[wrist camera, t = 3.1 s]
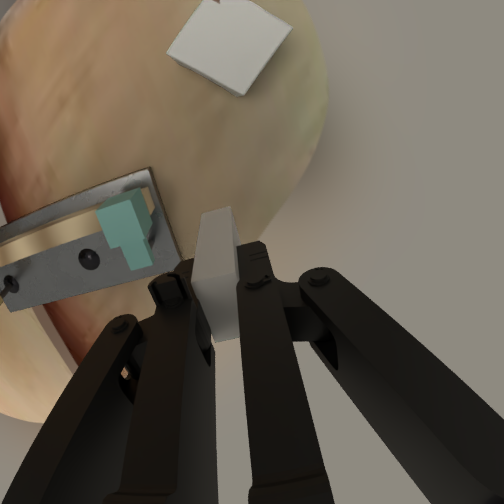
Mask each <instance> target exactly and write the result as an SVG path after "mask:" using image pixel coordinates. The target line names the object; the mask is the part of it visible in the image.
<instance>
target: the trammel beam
mask: <svg viewBox="0 0 504 504" xmlns="http://www.w3.org/2000/svg"><path fill="white" fill-rule="evenodd" d="M141 192H142V195H143V198H144V200H145V203H146V206H147V209H148V212H149V214H150V215H151V214H152V212H153V210H154V208H155V206H154V203H153V200H152V197H151V194H150V191H149V188H148V187H145V188H142V189H141ZM104 202H105V201H104ZM104 202H101V203H98V204H95V205H93V206H90V207H87V208H85V209H82V210H79V211H77V212H74V213H71V214H69V215H66V216H64V217H61V218H58V219H56V220H53V221H51V222H48V223H46V224H44V225H41V226H39V227H36V228H34V229H31V230H29V231H27V232H24V233H22V234H20V235H17V236H15V237H13V238H11V239H8V240H6V241H4V242H2V243H0V267H2V266H5V265H7V264H10V263H12V262H15V261H18V260H20V259H23V258H25V257H28V256H31V255H33V254H36V253H39V252H42V251H44V250H47V249H50V248H53V247H55V246H58V245H61V244H64V243H67V242H70V241H72V240H75V239H78V238H81V237H84V236H87V235H90V234H93V233H96V232H99V231H102V228H101V225H100V223H99V220H98V218H97V215H96V213H95V211H96V210H97V209H98V208H99V207H100V206H101V205H102V204H103V203H104ZM11 289H12V285H11V284H10V283H8V284H7V286H6V287H5V288H4V289H3V290H2V292H1V293H0V305H1V304H2V303H3V299H4V297H5V296H6V295H7V294H8V292H9V291H10V290H11Z"/></svg>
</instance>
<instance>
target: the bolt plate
mask: <svg viewBox="0 0 504 504" xmlns="http://www.w3.org/2000/svg"><path fill="white" fill-rule="evenodd" d="M139 187H140V189H142V188H145V187H148V188H149V191H150V194H151V197H152V200H153V203H154V206H155V208H154V210H153V212H152V214H151V215H150V217H151V220H152V222H153V223H152V225H151V227H150V229H149V232H148V234H147V236H146V238H147V240H149V239H151V240H153V241H154V245H153V248H152V253H153V255H154V258H155V261H154V264H153V265H151V266H147V267H143V268H140V269H136V270H132V271H131V269H130V267H129V265H128V263H127V261H126V258H125V256H124V254H123V251H122V249H121V247H120V246H119V247H116V248H112V249H110V246H109V244H108V242H107V239H106V237H105V235H104V232H103V230H102V231H99V232H96V233H93V234H90V235H87V236H84V237H81V238H78V239H75V240H72V241H70V242H67V243H64V244H61V245H58V246H55V247H53V248H50V249H47V250H44V251H42V252H39V253H36V254H33V255H31V256H28V257H25V258H23V259H20V260H18V261H15V262H12V263H10V264H7V265H5V266H2V267H0V293H1V292H2V290H3V289H4V288H5V287H6V286H7V284H8V283H10V284H11V285H12V289H11V290H10V291H9V292H8V294H7V295H6V296H5V297H4V299H3V301H4V303H5V304H6V306H7V308H8V309H9V311H10V312H14V311H18V310H22V309H26V308H30V307H33V306H37V305H41V304H45V303H49V302H53V301H57V300H61V299H64V298H68V297H72V296H76V295H80V294H84V293H88V292H91V291H95V290H99V289H103V288H107V287H111V286H115V285H118V284H122V283H126V282H130V281H134V280H138V279H142V278H146V277H149V276H153V275H157V274H161V273H165V272H169V271H173V270H174V268H175V267H176V266H177V265H178V264H179V262H180V261H183V259H182V256H181V254H180V251H179V248H178V246H177V243H176V240H175V237H174V235H173V232H172V229H171V226H170V224H169V221H168V218H167V215H166V212H165V209H164V206H163V204H162V201H161V198H160V195H159V192H158V189H157V186H156V183H155V180H154V177H153V174H152V171H151V168H150V167H147V168H144V169H141V170H138V171H135V172H133V173H130V174H127V175H124V176H121V177H118V178H115V179H113V180H110V181H107V182H104V183H102V184H99V185H96V186H94V187H91V188H89V189H86V190H83V191H81V192H78V193H76V194H73V195H71V196H68V197H66V198H64V199H61V200H59V201H56V202H54V203H52V204H49V205H47V206H45V207H42V208H40V209H38V210H36V211H33V212H31V213H29V214H27V215H25V216H22V217H20V218H18V219H16V220H14V221H12V222H10V223H8V224H6V225H4V226H1V227H0V243H2V242H4V241H6V240H8V239H11V238H13V237H15V236H17V235H20V234H22V233H24V232H27V231H29V230H31V229H34V228H36V227H39V226H41V225H44V224H46V223H48V222H51V221H53V220H56V219H58V218H61V217H64V216H66V215H69V214H71V213H74V212H77V211H79V210H82V209H85V208H87V207H90V206H93V205H95V204H98V203H101V202H104V201H106V200H107V199H108V198H110V197H113V196H116V195H119V194H121V193H124V192H127V191H130V190H133V189H136V188H139Z"/></svg>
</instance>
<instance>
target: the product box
mask: <svg viewBox="0 0 504 504" xmlns="http://www.w3.org/2000/svg"><path fill="white" fill-rule="evenodd" d="M292 30H293V27H292V26H291V25H289V24H287V23H286V22H284V21H283V20H281V19H279V18H278V17H276V16H274V15H273V14H271V13H269V12H268V11H266V10H264V9H263V8H261V7H260V6H258V5H257V4H255V3H253V2H251V1H249V0H203V1H202V2H201V3H200V4H199V6H198V7H197V8H196V10H195V11H194V12H193V14H192V15H191V17H190V18H189V19H188V21H187V22H186V24H185V25H184V26H183V28H182V29H181V31H180V32H179V34H178V35H177V37H176V38H175V40H174V41H173V43H172V44H171V46H170V47H169V49H168V50H167V52H166V54H167V55H169V56H170V57H171V58H172V59H174V60H175V61H176V62H177V63H178V64H179V65H181V66H183V67H186V68H188V69H190V70H192V71H194V72H196V73H198V74H200V75H201V76H203V77H205V78H207V79H208V80H210V81H212V82H214V83H215V84H217V85H219V86H220V87H222V88H224V89H225V90H227V91H228V92H230V93H231V94H233V95H234V96H236V97H239V96H243V95H245V94H246V92H247V91H248V90H249V88H250V87H251V85H252V84H253V83H254V81H255V80H256V78H257V77H258V76H259V74H260V73H261V71H262V70H263V69H264V67H265V66H266V64H267V63H268V62H269V60H270V59H271V58H272V56H273V55H274V53H275V52H276V51H277V49H278V48H279V46H280V45H281V44H282V42H283V41H284V40H285V38H286V37H287V36H288V35H289V33H290V32H291V31H292Z"/></svg>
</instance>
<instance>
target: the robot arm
mask: <svg viewBox="0 0 504 504" xmlns="http://www.w3.org/2000/svg"><path fill="white" fill-rule="evenodd" d="M148 289H149V291H150V293H151V295H152V298H153V300H154V302H155V304H156V310H155V314H154V315H153V316H151V317H149V318H147V319H144V320H142V321H140V322H138V320H137V318H136V317H135V316H134V315H131V314H125V315H120V316H117V317H115V318H114V319H113V320H112V321H110V322H109V323H108V324H107V325H106V326H105V328H104V329H103V331H102V332H101V334H100V335H99V337H98V338H97V340H96V341H95V343H94V344H93V346H92V347H91V349H90V350H89V352H88V353H87V355H86V356H85V358H84V359H83V361H82V362H81V364H80V366H79V367H78V369H77V370H76V372H75V373H74V375H73V377H72V378H71V380H70V381H69V383H68V384H67V386H66V388H65V389H64V391H63V393H62V394H61V396H60V397H59V399H58V401H57V402H56V404H55V406H54V407H53V409H52V411H51V412H50V414H49V416H48V417H47V419H46V421H45V423H44V424H43V426H42V428H41V430H40V431H39V433H38V435H37V437H36V438H35V440H34V442H33V444H32V446H31V447H30V449H29V451H28V453H27V455H26V456H25V458H24V460H23V462H22V464H21V466H20V468H19V470H18V472H17V473H16V475H15V477H14V479H13V481H12V483H11V485H10V487H9V489H8V491H7V493H6V495H5V498H4V499H3V501H2V504H218V482H217V450H216V405H215V404H216V403H215V351H214V347H213V345H212V343H211V334H212V336H213V339H214V341H215V343H216V342H221V341H226V340H230V339H235V338H239V337H240V345H241V358H242V370H243V381H244V393H245V404H246V415H247V426H248V437H249V447H250V458H251V468H252V480H253V482H252V487H251V488H250V489H249V494H248V504H335V503H334V499H333V495H332V491H331V487H330V483H329V479H328V476H327V473H326V470H325V466H324V463H323V459H322V455H321V451H320V447H319V443H318V439H317V435H316V431H315V427H314V423H313V420H312V415H311V411H310V408H309V403H308V400H307V396H306V392H305V388H304V384H303V380H302V377H301V373H300V369H299V365H298V361H297V357H296V354H295V350H294V346H293V342H294V341H296V342H297V341H309V343H310V345H311V347H312V348H313V350H314V351H315V352H316V354H317V355H318V356H319V358H320V359H321V360H322V362H323V363H324V364H325V366H326V367H327V368H328V370H329V371H330V372H331V374H332V375H333V376H334V378H335V379H336V380H337V382H338V383H339V384H340V386H341V387H342V388H343V390H344V391H345V392H346V393H347V395H348V396H349V397H350V399H351V400H352V401H353V403H354V404H355V405H356V407H357V408H358V409H359V411H360V412H361V413H362V415H363V416H364V417H365V418H366V420H367V421H368V422H369V424H370V425H371V426H372V428H373V429H374V430H375V432H376V433H377V434H378V436H379V437H380V438H381V439H382V441H383V442H384V443H385V445H386V446H387V447H388V449H389V450H390V451H391V453H392V454H393V455H394V456H395V458H396V459H397V460H398V461H399V463H400V464H401V466H402V467H403V468H404V469H405V471H406V472H407V473H408V475H409V476H410V477H411V479H412V480H413V481H414V482H415V484H416V485H417V486H418V488H419V489H420V490H421V491H422V493H423V494H424V495H425V497H426V498H427V499H428V500H429V502H430V503H431V504H504V419H503V418H502V417H500V416H499V415H498V414H497V413H496V412H495V411H494V410H493V409H492V408H491V407H490V406H489V405H488V404H487V403H486V402H485V401H484V400H483V399H482V398H481V397H479V396H478V395H477V394H476V393H475V392H474V391H473V390H472V389H471V388H470V387H469V386H468V385H467V384H465V383H464V382H463V381H462V380H461V379H460V378H459V377H458V376H457V375H456V374H455V373H453V372H452V371H451V370H450V369H449V368H448V367H447V366H446V365H445V364H444V363H443V362H441V361H440V360H439V359H438V358H437V357H436V356H435V355H434V354H433V353H431V352H430V351H429V350H428V349H427V348H426V347H425V346H424V345H422V344H421V343H420V342H419V341H418V340H417V339H416V338H415V337H413V336H412V335H411V334H410V333H409V332H407V330H405V329H404V328H403V327H402V326H401V325H400V324H399V323H397V322H396V321H395V320H394V319H393V318H392V317H390V316H389V315H388V314H387V313H386V312H385V311H383V310H382V309H381V308H380V307H379V306H378V305H377V304H375V303H374V302H373V301H371V299H369V298H368V297H367V296H366V295H365V294H364V293H362V292H361V291H360V290H359V289H357V288H356V287H355V286H354V285H353V284H352V283H350V282H349V281H348V280H347V279H346V278H345V277H343V276H342V275H341V274H340V273H339V272H337V271H336V270H334V269H332V268H326V267H320V268H319V267H318V268H314V269H311V270H308V271H306V272H305V273H303V274H302V275H301V276H300V278H299V281H298V282H295V283H288V282H282V281H280V280H278V279H277V278H275V276H274V274H273V271H272V267H271V264H270V260H269V256H268V253H267V249H266V245H265V244H264V243H262V242H260V241H255V242H251V243H247V244H244V245H241V242H240V238H239V235H238V231H237V228H236V224H235V220H234V217H233V213H232V210H231V206H228V207H224V208H220V209H217V210H213V211H209V212H205V213H202V215H201V221H200V227H199V233H198V239H197V245H196V251H195V258H192V259H188V260H184V261H180V262H179V264H178V265H177V266H176V267H175V268H174V271H173V272H167V273H165V274H162V275H160V276H158V277H156V278H155V279H153V280H152V281H151V282H150V283H149V285H148ZM124 367H125V369H126V370H127V372H128V375H127V377H126V378H123V376H122V375H121V372H122V370H123V368H124Z"/></svg>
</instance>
